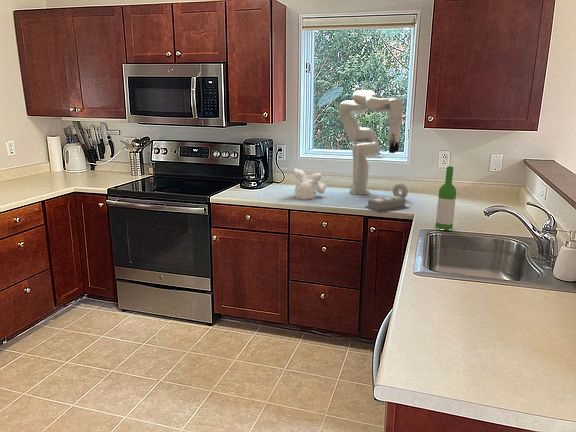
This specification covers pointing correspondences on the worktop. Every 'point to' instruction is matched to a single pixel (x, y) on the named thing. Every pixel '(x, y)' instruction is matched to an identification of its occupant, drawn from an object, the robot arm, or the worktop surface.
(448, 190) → the wine bottle
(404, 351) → the worktop surface
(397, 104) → the robot arm
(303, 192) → the cream lumpy figurine
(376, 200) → the key ivory
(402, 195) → the donut
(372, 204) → the keypad
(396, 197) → the key sage
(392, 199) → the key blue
